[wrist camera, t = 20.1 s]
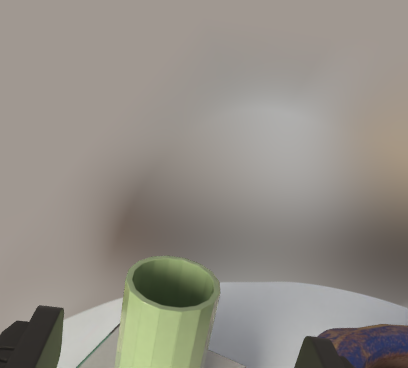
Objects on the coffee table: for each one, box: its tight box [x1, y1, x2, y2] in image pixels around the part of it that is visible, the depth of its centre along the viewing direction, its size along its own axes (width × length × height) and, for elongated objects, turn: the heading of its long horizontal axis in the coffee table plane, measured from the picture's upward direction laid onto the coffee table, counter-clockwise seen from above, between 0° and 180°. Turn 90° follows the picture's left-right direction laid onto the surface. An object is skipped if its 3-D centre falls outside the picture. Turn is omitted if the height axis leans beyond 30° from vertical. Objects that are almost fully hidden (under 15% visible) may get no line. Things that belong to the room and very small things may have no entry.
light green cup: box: [114, 256, 220, 368], centre depth 26 cm, size 6×6×9 cm
